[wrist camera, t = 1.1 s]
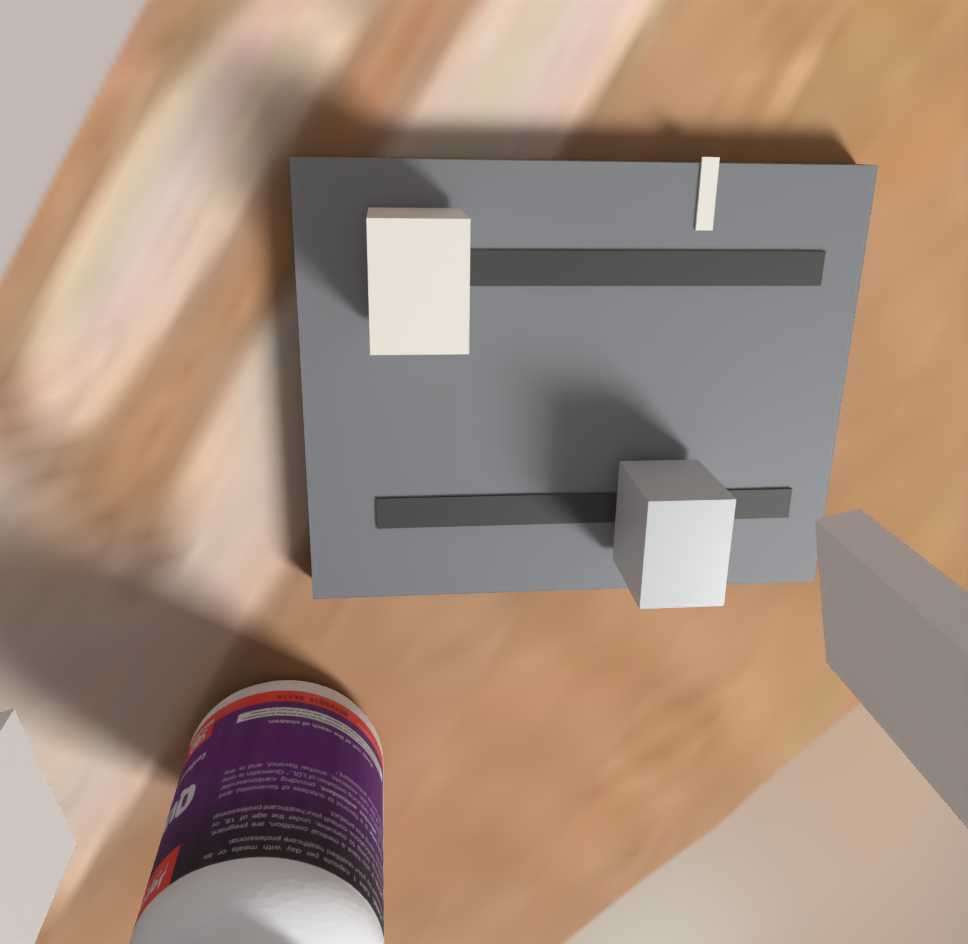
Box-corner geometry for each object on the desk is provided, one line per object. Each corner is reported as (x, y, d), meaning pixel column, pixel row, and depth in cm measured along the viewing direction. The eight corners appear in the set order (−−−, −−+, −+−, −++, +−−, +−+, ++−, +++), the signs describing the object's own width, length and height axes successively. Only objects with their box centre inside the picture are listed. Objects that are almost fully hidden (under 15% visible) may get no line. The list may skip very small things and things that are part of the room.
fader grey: (612, 558, 36) (639, 608, 32) (619, 460, 34) (648, 501, 30) (688, 556, 36) (723, 605, 32) (698, 459, 34) (736, 499, 31)
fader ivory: (371, 328, 32) (369, 355, 28) (368, 207, 30) (366, 218, 26) (459, 328, 32) (468, 354, 28) (459, 208, 30) (470, 218, 27)
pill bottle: (185, 669, 37) (75, 971, 24) (384, 666, 38) (385, 954, 25) (198, 830, 40) (105, 1181, 27) (383, 823, 41) (384, 1158, 28)
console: (316, 585, 37) (313, 604, 35) (293, 150, 31) (288, 151, 30) (797, 569, 39) (813, 587, 37) (858, 158, 33) (880, 159, 32)
